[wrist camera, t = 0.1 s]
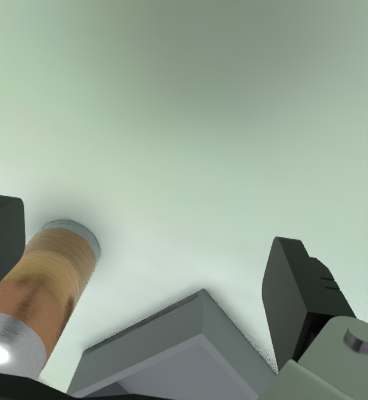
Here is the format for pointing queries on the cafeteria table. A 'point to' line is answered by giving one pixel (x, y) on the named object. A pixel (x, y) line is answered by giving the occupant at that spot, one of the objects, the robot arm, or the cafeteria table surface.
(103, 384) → the gray tray
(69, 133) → the cafeteria table surface
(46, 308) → the tin can
